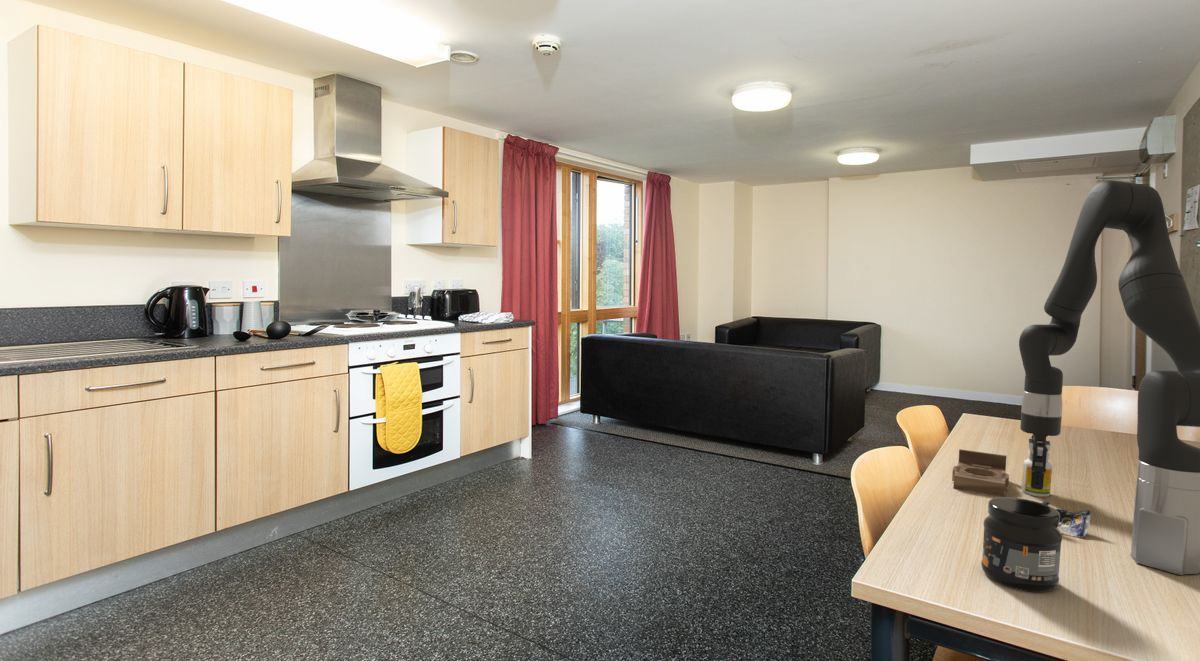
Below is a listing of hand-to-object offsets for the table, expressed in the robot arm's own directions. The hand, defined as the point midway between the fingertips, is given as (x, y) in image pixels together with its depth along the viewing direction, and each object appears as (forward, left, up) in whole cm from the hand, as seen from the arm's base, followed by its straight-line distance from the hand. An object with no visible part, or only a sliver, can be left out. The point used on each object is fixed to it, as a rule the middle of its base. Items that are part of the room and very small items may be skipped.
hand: (1036, 484), depth 144 cm
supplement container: (-51, -16, -2) cm, 53 cm away
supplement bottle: (0, 0, -2) cm, 2 cm away
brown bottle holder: (-4, +10, -2) cm, 11 cm away
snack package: (-20, -9, -3) cm, 22 cm away
